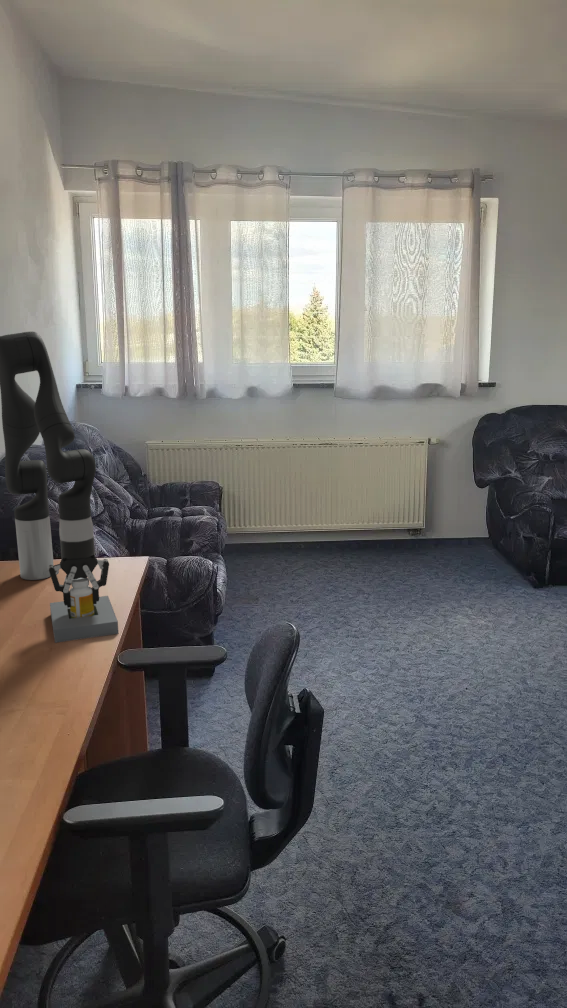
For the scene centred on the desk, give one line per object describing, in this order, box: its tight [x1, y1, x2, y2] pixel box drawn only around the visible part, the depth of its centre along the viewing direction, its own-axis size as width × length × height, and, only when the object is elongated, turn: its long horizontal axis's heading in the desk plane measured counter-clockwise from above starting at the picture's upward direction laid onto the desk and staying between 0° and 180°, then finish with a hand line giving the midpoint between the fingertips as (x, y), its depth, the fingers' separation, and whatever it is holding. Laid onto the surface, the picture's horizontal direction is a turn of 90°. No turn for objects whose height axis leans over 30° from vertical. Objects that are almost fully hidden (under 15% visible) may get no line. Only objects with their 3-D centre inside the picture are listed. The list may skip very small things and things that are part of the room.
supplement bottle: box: [69, 577, 94, 618], centre depth 170 cm, size 5×5×10 cm
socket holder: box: [49, 595, 119, 644], centre depth 171 cm, size 18×14×3 cm
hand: (81, 604), depth 171 cm, fingers closed on supplement bottle, 5 cm apart
